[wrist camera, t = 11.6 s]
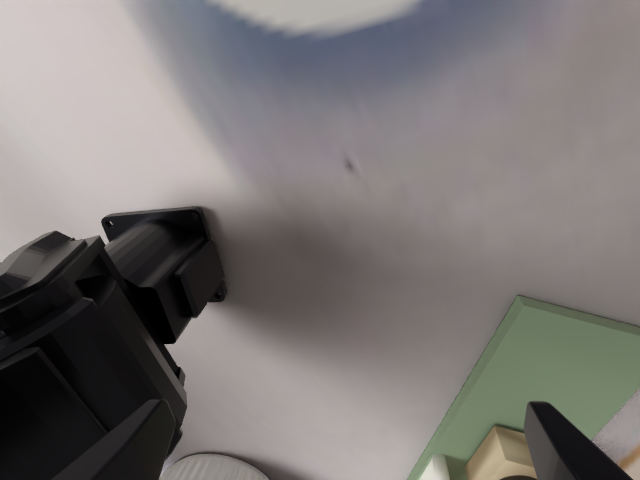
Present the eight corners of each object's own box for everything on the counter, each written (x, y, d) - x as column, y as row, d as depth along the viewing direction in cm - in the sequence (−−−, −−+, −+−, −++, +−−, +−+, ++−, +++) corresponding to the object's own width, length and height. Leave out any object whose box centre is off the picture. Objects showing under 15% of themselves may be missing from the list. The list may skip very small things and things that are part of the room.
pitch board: (399, 491, 32) (400, 504, 31) (517, 295, 22) (523, 305, 21) (501, 518, 32) (504, 532, 31) (665, 334, 22) (678, 346, 21)
